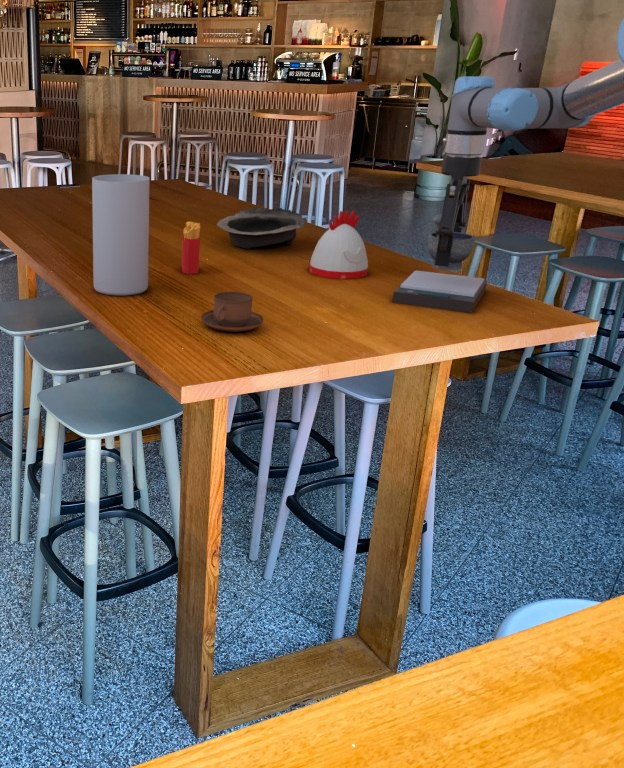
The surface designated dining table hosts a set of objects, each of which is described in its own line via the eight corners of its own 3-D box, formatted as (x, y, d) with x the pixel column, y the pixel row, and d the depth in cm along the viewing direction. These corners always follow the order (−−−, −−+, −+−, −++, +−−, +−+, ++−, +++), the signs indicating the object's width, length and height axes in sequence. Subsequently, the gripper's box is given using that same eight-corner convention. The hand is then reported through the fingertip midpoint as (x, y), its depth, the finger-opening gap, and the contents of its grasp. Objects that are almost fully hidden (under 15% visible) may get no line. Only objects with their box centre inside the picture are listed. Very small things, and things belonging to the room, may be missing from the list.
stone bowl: (304, 237, 234) (307, 206, 230) (302, 262, 212) (306, 228, 208) (220, 232, 239) (222, 202, 235) (211, 256, 217) (212, 223, 213)
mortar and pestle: (443, 260, 180) (451, 206, 175) (479, 268, 172) (489, 212, 168) (410, 266, 174) (417, 211, 170) (446, 275, 167) (455, 217, 162)
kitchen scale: (471, 313, 164) (474, 298, 162) (392, 302, 171) (394, 288, 170) (485, 291, 179) (487, 277, 178) (412, 282, 187) (414, 269, 186)
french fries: (180, 267, 202) (181, 219, 197) (195, 266, 202) (197, 219, 197) (184, 275, 194) (185, 226, 189) (200, 275, 194) (202, 226, 189)
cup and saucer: (259, 338, 149) (261, 307, 146) (196, 333, 152) (197, 302, 149) (265, 320, 159) (267, 290, 157) (206, 316, 162) (207, 286, 160)
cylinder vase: (154, 295, 177) (155, 180, 168) (99, 298, 175) (98, 182, 165) (140, 281, 188) (141, 173, 179) (89, 284, 186) (87, 175, 177)
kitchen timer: (378, 275, 193) (386, 213, 187) (330, 280, 188) (336, 217, 183) (345, 263, 205) (351, 204, 199) (298, 267, 201) (304, 208, 195)
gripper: (453, 149, 176) (437, 249, 184) (433, 159, 158) (417, 269, 166) (489, 151, 172) (472, 252, 180) (473, 161, 154) (455, 273, 163)
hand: (446, 260), depth 173 cm, fingers closed on mortar and pestle, 10 cm apart
